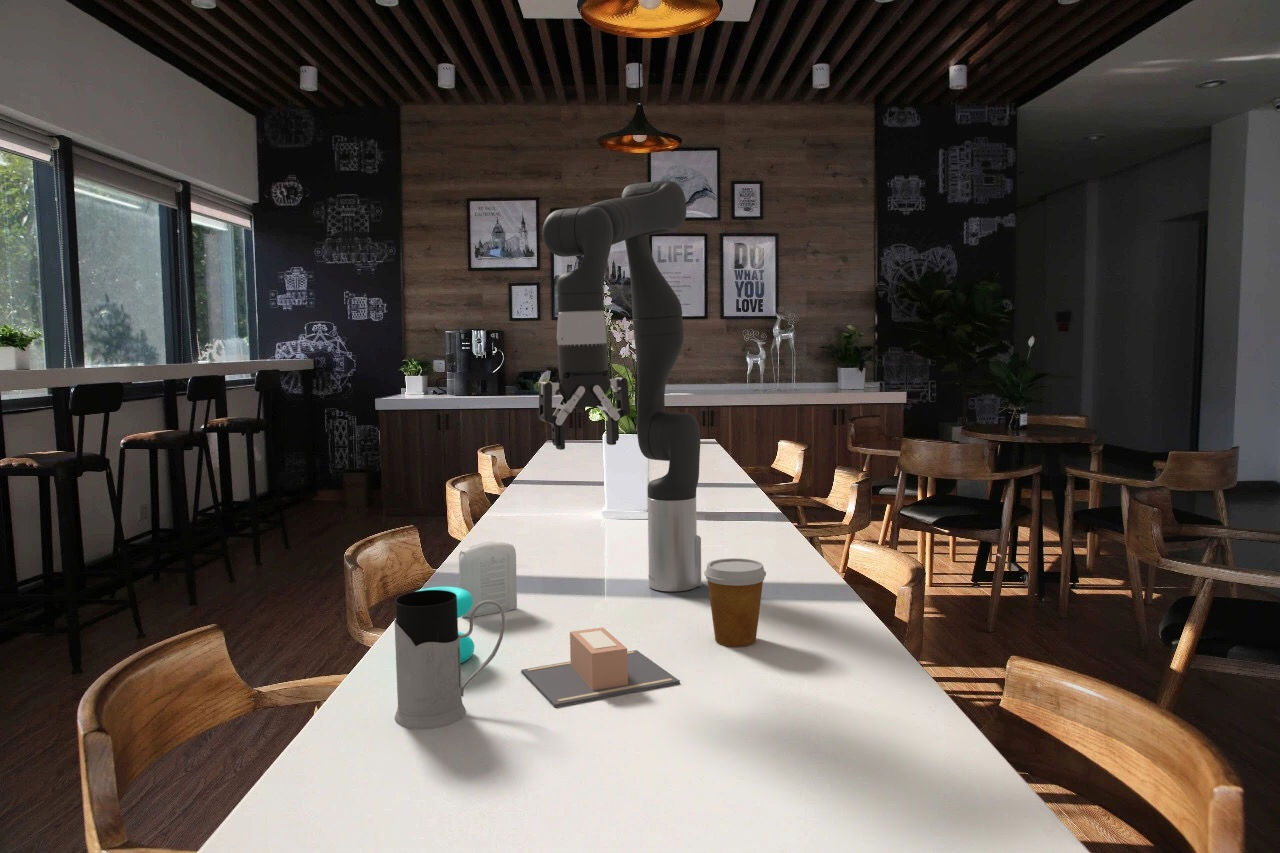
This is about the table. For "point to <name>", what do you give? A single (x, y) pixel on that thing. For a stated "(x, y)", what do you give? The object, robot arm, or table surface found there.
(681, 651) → the table surface
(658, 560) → the robot arm
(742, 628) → the disposable coffee cup
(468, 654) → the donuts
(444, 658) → the glass holder
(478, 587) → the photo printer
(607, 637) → the card box
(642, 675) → the mat
